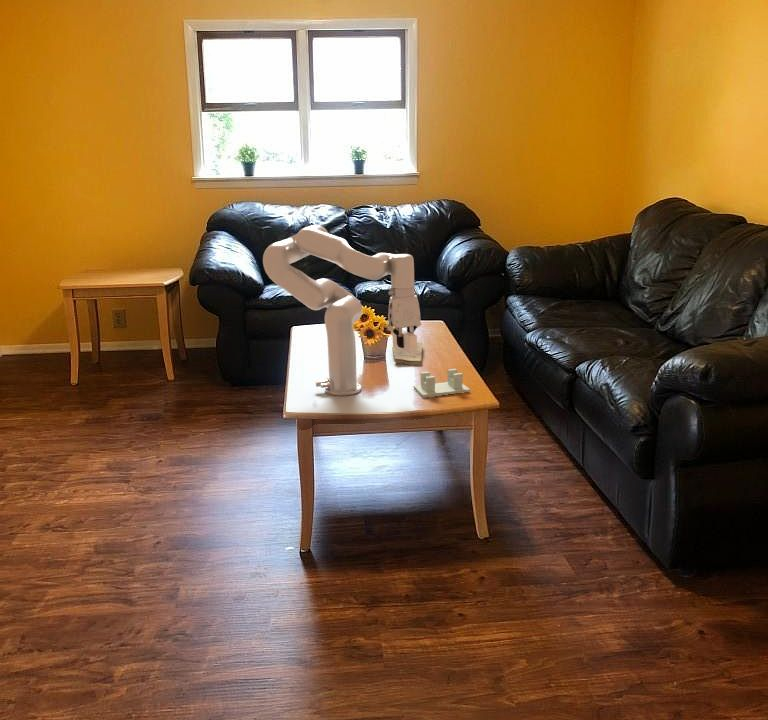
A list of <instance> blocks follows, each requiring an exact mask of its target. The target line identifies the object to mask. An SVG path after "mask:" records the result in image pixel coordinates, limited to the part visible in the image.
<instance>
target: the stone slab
mask: <svg viewBox="0 0 768 720" xmlns="http://www.w3.org/2000/svg"><path fill="white" fill-rule="evenodd" d="M391 348H392V354H393V361H394V362H395V363H396V364H397V365H402V364H403V365H407V364H408V365H407V366H422V356H423V344H422V342H421V341H420V342H419V341H417V353H414V354H409V353H407V352H404V351H402V350H400V349H397V348H395V347H393V346H392V347H391Z"/></svg>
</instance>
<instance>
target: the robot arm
mask: <svg viewBox="0 0 768 720" xmlns="http://www.w3.org/2000/svg"><path fill="white" fill-rule="evenodd" d="M310 255H311V256H315V257H317V258H319V259H322V260H326V261H328V262H331V263H334V264H336V265H337V266H339V267H340V268H342V269H343V270H345V271H346V272H348V273H351V274H353V275H355V276H358V277H361V278H363V279H365V280H366V279H367V280H370V281H378V280H380V279H382V278H384V277H385V276H388V275H390V281H391V283H390V285H391V288H390V290H388V291H387V292H388V293H387V294H388V295H389V296H390V295H391V296H390V297H389V302H388V303H389V304H388V313H387V314H388V315H387V317H388V318H387V319H388V321H387V322H388V323H387V326H386V330H387V331H388V332H393V333H394V334H395V335H397V345H398V347H400V348H404V341H403V336H402V330H403V328H404V329H405V328H406V331H407V332H409V333H412V334H415V331H416V330H417V328H419V327H420V326H421V325H422V321H421V309H420V303H419V300H418V299H419V298H418V295H416V294H415V293H416V292H415V265H414V264H415V262H414V257H413V255H412V254H409V253H399V254H398V253H396V254H394V253H389V252H388V253H387V252H378V253H376V254H374V255H367V254H365V253H362V252H360V251H359V250H358V251H357V250H356V249H354V248H352V247H351V246H350V245H349V242H348V241H347V240H346V239H345V238H343V237H340V236H337V235H334V234H331V233H329V232H328V230H327V229H326V228H325V227H324V226H322V225H320V224H312V225H309V226H305V227H303V228H301V229H300V230H299V231H298V232H297V233H296V234H294V235H291V236H289V237H287V238H285V239H282V240H280V241H276V242H273V243H271V244H269V245H268V246H267V248H266V249H265V250H264V253H263V255H262V264H263V265H262V266H263V270H264V271H265V274H266V275H267V276H268V278H269V279H270V280H271V281H272V282H273V283H274V284H276V285H277V286H278V287H280V288H281V289H283V290H285V291H286V292H287V293H288V294H290V295H291V296H293V297H294V298H295V299H296V300H298V301H299V302H300V303H302V304H303V305H305V306H306V307H307V308H308V309H310V310H312V311H319V310H322V309H324V308H326V311H325V313H324V323H325V325H324V326H325V329H326V337H327V338H326V339H327V340H326V341H327V358H328V359H327V360H328V361H327V362H328V376H327V377H326V378H325V379H324V380H317V381H316V380H315V386H316V387H320V388H321V389H323V388H324V390H325V391H324V392H326V393H327V394H329V395H333V396H351V395H355V394H358V393H360V392H361V391H362V385H361V383H360V384H359V383H358V382H357V352H356V351H357V350H356V349H357V348H356V347H357V346H356V335H355V330H354V324H355V323H356V322H357V321H358V320H359V319H360V318H361V317H362V315H363V306H362V303H361V301H360V300H359V299H358V298H357V297H356V296H354V295H353V294H352V293H351V292H349V291H348V290H346V289H345V288H344V287H342V286H341V285H340V284H338V283H336V282H335V281H333V280H331V279H329V278H324V277H323V278H319V279H316V280H315V279H313V278H311V277H310V276H308V275H307V274H306V273H304V271H302V270H300V269H297V268H296V267H294V266H293V265H291V264H293V263H296V262H297V261H301V260H302V259H303V258H306V257H308V256H310Z"/></svg>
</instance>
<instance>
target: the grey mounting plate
mask: <svg viewBox="0 0 768 720" xmlns="http://www.w3.org/2000/svg"><path fill="white" fill-rule="evenodd" d="M463 377H464V376H463V373H462V372H458V369H457V368H450V369H447V381H445V382H436V376H435V375H431V372H429V371H422V372H420V384H418V385H416V384H415V385H413V387H412V388H414V389H413V390H414V391H415V390H416V391H415V392H416V393H417V392H418V393H417V394H418V395H419V396H420V395H421V396H422V397H421V396H420V397H421V398H422V399H427V397H429V398H436V397H435V396H437V397H443V396H442V395H446V396H449V395H448V394H454V393H462V392H470V393H471V389H470V388H469V387H468V386H466V385H465V384H464V383H463V382H464V381H463V379H464V378H463ZM454 395H455V394H454Z"/></svg>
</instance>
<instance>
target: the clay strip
mask: <svg viewBox="0 0 768 720" xmlns="http://www.w3.org/2000/svg"><path fill="white" fill-rule="evenodd" d="M391 332H392V331H391ZM402 336H403V341H404V348H400V347H398V345H397V335H395V334H394V333H393V332H392V347H395V348H397V349H400V350H402V351H404V352H407V353H409V354H414V353H417V342H418V335H417V334H415V333H414V334H412V333H409V332H407V330H404V329H402Z"/></svg>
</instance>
